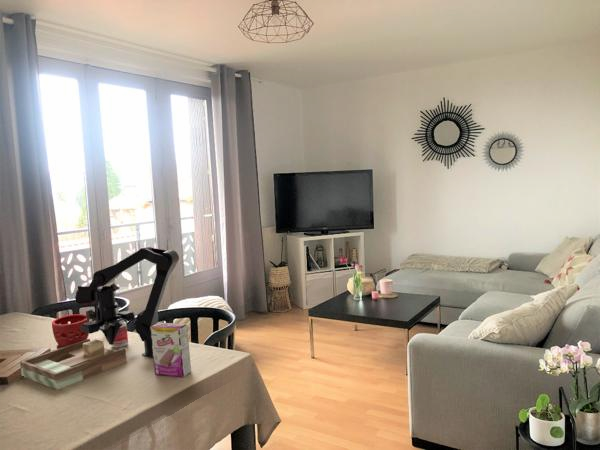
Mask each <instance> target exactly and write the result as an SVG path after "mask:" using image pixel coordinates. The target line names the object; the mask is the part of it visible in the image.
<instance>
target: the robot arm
mask: <svg viewBox="0 0 600 450" xmlns="http://www.w3.org/2000/svg"><path fill="white" fill-rule="evenodd" d="M144 260H146V261H148V262H150V263H152V264H155V271H156V274H155V278H154V280H153V281H154V282H153V284H152V287H151V290H150V293H149V297H148V299H147V303H146V307H145V308H144V310H142V311H140V312H139V313H137V316H135V313H134V312H133V311H128V310H124V311H119V313H118V314H117V315H116V308H118V309H119V304H118V305H116V304H115V302H116V299H115V298H116V297H115V292H116V291H118V290H120V286H118V285H116V283H112V282H114V281H115V280H116V279H117V278H119V277H120V275H121V274H122V273H123V272H126V271H127V270H129V269H130V268H132V267H134V266H135V265H137V264H138V263H140V262H142V261H144ZM179 260H180V255H179V254H178V252H177V251H176V250H173V249H168V250H167V249H163V248H155V247H151V246H148V245H147V246H144V247H141V248H140V249H139V250H137V251H136V252H133V253H132V254H131V255H129V256H127V257H125V258H124V259H122V260H120V261H118V262H117V263H114V264H113V265H110V266H107V267H104V268H102V269H99V270H97V271H95V272H94V273H93V275H92V280H91V282H90V283H89V285H88V284H87V285H86V284H83V285H81V284H80V285H78V286H77V290H76V293H75V296H74V299H75V301H76V304H77V305H89V304H91V305H93V304H96V303H97V304H98V305H97V306H96V310H93V309H89V310H86V311H85V315H86V317H87V319H88V320H89V322H87V323H84V324H82V326H81V332H85V333H89V335H90V334H94V333H97V332H99V331H101V332H102V334H103V335H104V336H105V339H106V340H107V343H108V344H109V345H111V346H112V344H113V343H114V340H115V337H116V335H117V332H118V330H119V328H120V326H122V324H120V321H121V320H124V321H125V320H126V321H127V322H131V321H134V320H136V321H135V322H134V324H133V326H135V327H134V331H136V334H138V336H139V338H140V340H141V341H142V342H143V345H144V352H143V353H141V355H142V356H145V357H148V358H152V359H153V350H152V340H151V330H150V327H151V326H152V325H154V324H156V323H158V322H159V308H160V305H161V302H162V299H163V297H164V293H165V291H166V290H165V289H166V287H167V283H168V280H169V278H170V275H171V274H172V272H173V271H174V270H175V268H176V266H177V264H178V262H179ZM110 283H112V284H110ZM109 284H110V285H109ZM90 320H91V321H90ZM97 321H98V322H97Z"/></svg>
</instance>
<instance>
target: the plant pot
mask: <svg viewBox="0 0 600 450" xmlns="http://www.w3.org/2000/svg"><path fill="white" fill-rule="evenodd" d="M69 322H70V323H69ZM87 322H90V319H89V320H88V319H87V317H86V314H80V313H79V314H77V313H75V314H69V315H65V316H61V317H58V318H56V319H54V320H53V321H51V329H52V333H53V338H54V340H55V342H56V344H57V345H56V350H57V349H60V348H63V347H66V346H69V345H72V344H75V343H78V342H81V341H84V340H87V339H89V338H88V337H89V335H90V334H89V333H85V332H81V326H82V324H84V323H87Z"/></svg>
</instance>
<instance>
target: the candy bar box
mask: <svg viewBox="0 0 600 450" xmlns="http://www.w3.org/2000/svg"><path fill="white" fill-rule="evenodd" d="M150 330H151V340H152V350H153V358H152V360H153V369H154V375H155V376H156V375H157V376H166V377H175V378H176V377H177V378H185V377H186V376H187V375H188V374H190V373H191V372H192V365H191V354H190V343H189V341H190V340H189V333H188V330H189V329H188V324H187V323H176V322H175V323H174V322H161V321H160V322H159V321H158V323H156V324H154V325H152V326H151V327H150Z"/></svg>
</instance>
